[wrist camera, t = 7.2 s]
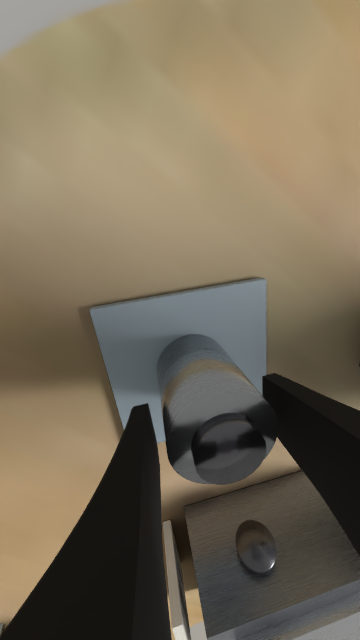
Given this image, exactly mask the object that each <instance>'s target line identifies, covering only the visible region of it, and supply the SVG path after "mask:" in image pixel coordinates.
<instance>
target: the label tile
mask: <svg viewBox="0 0 360 640" xmlns="http://www.w3.org/2000/svg"><path fill="white" fill-rule="evenodd" d="M163 532H164V543H165V554H166V565H167V576H168V587H169V598H170V609H171V621H172V629H173V632H174V636H175V639H176V640H191V636H190V628H189V621H188V614H187V606H186V599H185V592H184V584H183V577H182V569H181V563H180V558H179V554H178V550H177V546H176V542H175V537H174V533H173V529H172V525H171V521H170V520H168V521H165V522H163Z"/></svg>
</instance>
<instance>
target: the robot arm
mask: <svg viewBox="0 0 360 640" xmlns="http://www.w3.org/2000/svg"><path fill="white" fill-rule="evenodd" d="M262 396H263V397H264V398H265V400H266V401H267V402H268V403H269V405H270V406H271V407H272V408H273V410H274V412H275V414H276V416H277V420H278V433H277V437H278V439H279V440H280V441H281V443H282V444H283V445H284V447H285V448H286V449H287V451H288V452H289V453H290V455H291V456H292V457H293V459H294V460H295V461H296V463H297V464H298V465H299V467H300V468H301V469H302V471H303V472H304V473H305V475H306V476H307V477H308V479H309V480H310V481H311V483H312V484H313V485H314V487H315V488H316V489H317V491H318V492H319V494H320V495H321V496H322V498H323V499H324V501H325V502H326V504H327V505H328V507H329V509H330V510H331V512H332V513H333V515H334V516H335V518H336V519H337V521H338V523H339V524H340V526H341V527H342V529H343V530H344V532H345V534H346V535H347V537H348V539H349V540H350V542H351V543H352V545H353V547H354V548H355V550H356V552H357V553H358V555H359V556H360V411H359V410H357V409H354V408H352V407H349V406H347V405H345V404H342V403H340V402H337V401H335V400H333V399H331V398H328V397H326V396H324V395H322V394H319V393H317V392H315V391H313V390H311V389H309V388H307V387H304V386H302V385H300V384H298V383H296V382H294V381H292V380H289V379H287V378H285V377H283V376H281V375H278V374H276V373H273V374H269V375H265V376H262ZM0 640H172V639H171V629H170V620H169V610H168V600H167V590H166V580H165V570H164V560H163V548H162V526H161V490H160V464H159V455H158V447H157V440H156V435H155V431H154V426H153V422H152V418H151V413H150V409H149V405H148V403H146V404H142V405H137V406H134V407H133V408H132V409H131V412H130V416H129V419H128V421H127V424H126V427H125V429H124V432H123V434H122V437H121V439H120V442H119V444H118V446H117V448H116V451H115V453H114V455H113V457H112V460H111V462H110V464H109V466H108V468H107V470H106V472H105V474H104V476H103V478H102V480H101V482H100V484H99V485H98V487H97V489H96V491H95V493H94V495H93V497H92V498H91V500H90V502H89V504H88V505H87V507H86V509H85V511H84V512H83V514H82V516H81V517H80V519H79V521H78V522H77V524H76V526H75V527H74V529H73V530H72V532H71V534H70V535H69V537H68V538H67V540H66V542H65V543H64V545H63V546H62V548H61V549H60V551H59V553H58V554H57V556H56V557H55V559H54V560H53V562H52V563H51V565H50V566H49V568H48V569H47V571H46V572H45V573H44V575H43V576H42V578H41V579H40V581H39V582H38V583H37V585H36V586H35V588H34V589H33V591H32V592H31V593H30V595H29V596H28V598H27V599H26V601H25V602H24V604H23V605H22V606H21V608H20V609H19V611H18V612H17V614H16V615H15V616H14V618H13V619H12V621H11V622H10V623H9V625H8V626H7V628H6V629H5V630H4V632H3V633H2V634H1V636H0Z"/></svg>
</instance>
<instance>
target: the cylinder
mask: <svg viewBox="0 0 360 640" xmlns="http://www.w3.org/2000/svg"><path fill="white" fill-rule="evenodd" d="M157 379H158V386H159V394H160V401H161V409H162V417H163V424H164V432H165V440H166V447H167V454H168V459H169V462H170V464H171V466H172V467H173V469H174V470H175V471H176V472H177V473H178V474H179V475H181V476H182V477H183V478H185V479H187V480H190V481H192V482H196V483H202V484H218V485H223V484H230V483H234V482H237V481H240V480H242V479H244V478H246V477H247V476H249V475H250V474H252V473H253V472H254V471H255V470H256V469H257V468H258V467H259V466H260V464H261V463H262V461H263V460H264V459H265V458H266V456H267V455H268V454H269V453H270V451H271V449H272V448H273V446H274V443H275V441H276V438H277V433H278V420H277V416H276V414H275V412H274V410H273V408H272V407H271V406H270V405H269V403H268V402H267V401H266V400H265V398H264V397H263V396H262V395H261V394H260V392H259V391H258V390H257V389H256V388H255V386H254V385H253V384H252V383H251V382H250V380H249V379H248V378H247V377H246V376H245V374H244V373H243V372H242V371H241V369H240V368H239V367H238V366H237V365H236V363H235V362H234V361H233V360H232V359H231V357H230V356H229V355H228V354H227V353H226V351H225V350H224V349H223V348H222V347H221V345H220V344H219V343H218V342H217V341H216V340H214V339H213V338H211V337H208V336H205V335H201V334H190V335H185V336H182V337H180V338H177V339H176V340H174V341H172V342H171V343H170V344H169V345H168V346H167V347H166V348H165V349H164V350H163V351H162V353H161V355H160V357H159V359H158V363H157Z"/></svg>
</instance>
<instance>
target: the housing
mask: <svg viewBox="0 0 360 640" xmlns="http://www.w3.org/2000/svg"><path fill="white" fill-rule="evenodd" d="M184 511H185V517H186V523H187V528H188V534H189V540H190V545H191V551H192V556H193V562H194V568H195V573H196V579H197V585H198V590H199V596H200V602H201V607H202V613H203V619H204V624H205V630H206V636H207V640H360V556H359V555H358V553H357V552H356V550H355V548H354V547H353V545H352V543H351V542H350V540H349V539H348V537H347V535H346V534H345V532H344V530H343V529H342V527H341V526H340V524H339V523H338V521H337V519H336V518H335V516H334V515H333V513H332V512H331V510H330V509H329V507H328V505H327V504H326V502H325V501H324V499H323V498H322V496H321V495H320V494H319V492H318V491H317V489H316V488H315V487H314V485H313V484H312V483H311V481H310V480H309V479H308V477H307V476H306V475H305V473H304V472H303V471H300V472H297V473H294V474H290V475H287V476H284V477H280V478H277V479H274V480H271V481H267V482H264V483H261V484H257V485H254V486H251V487H247V488H244V489H241V490H238V491H234V492H231V493H228V494H224V495H221V496H218V497H215V498H211V499H208V500H205V501H201V502H198V503H195V504H191V505H188V506H185V507H184Z"/></svg>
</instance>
